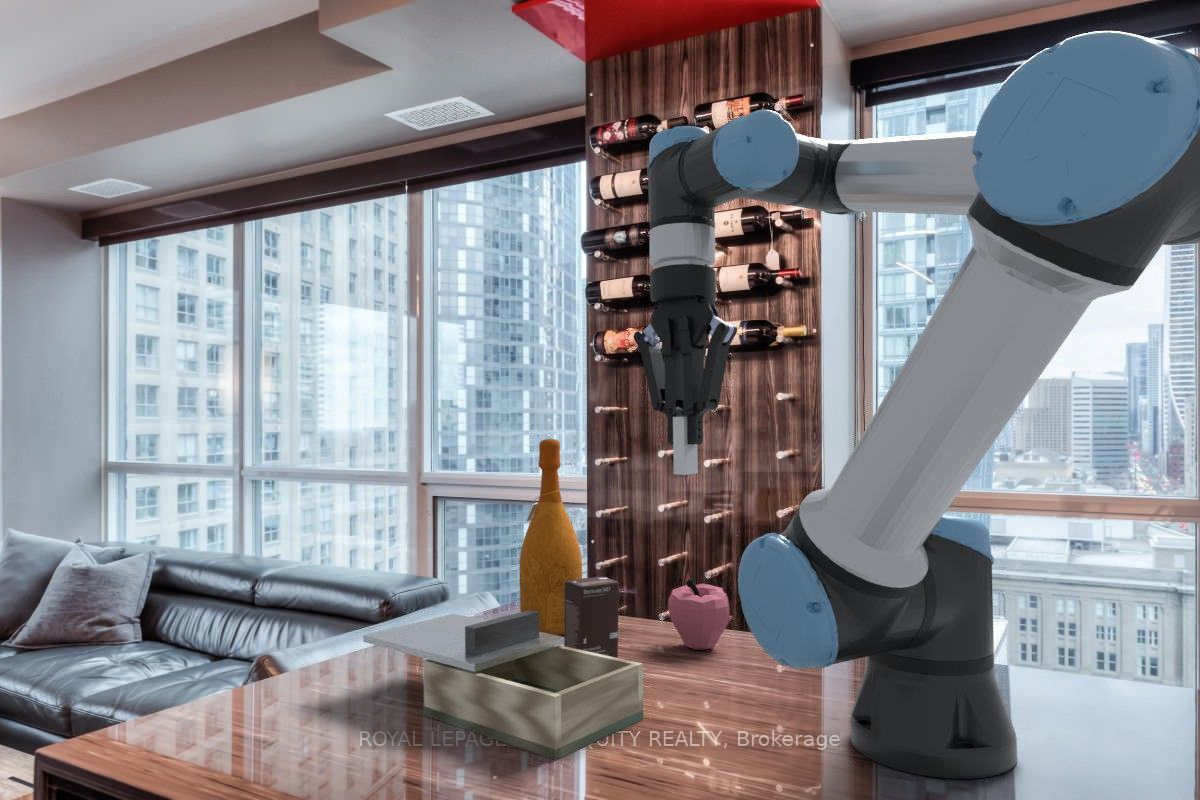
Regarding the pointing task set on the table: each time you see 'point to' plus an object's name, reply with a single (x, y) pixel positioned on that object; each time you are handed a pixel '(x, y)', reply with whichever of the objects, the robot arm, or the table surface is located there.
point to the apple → (699, 614)
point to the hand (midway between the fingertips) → (685, 473)
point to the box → (592, 615)
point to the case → (539, 699)
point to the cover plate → (453, 643)
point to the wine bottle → (548, 548)
